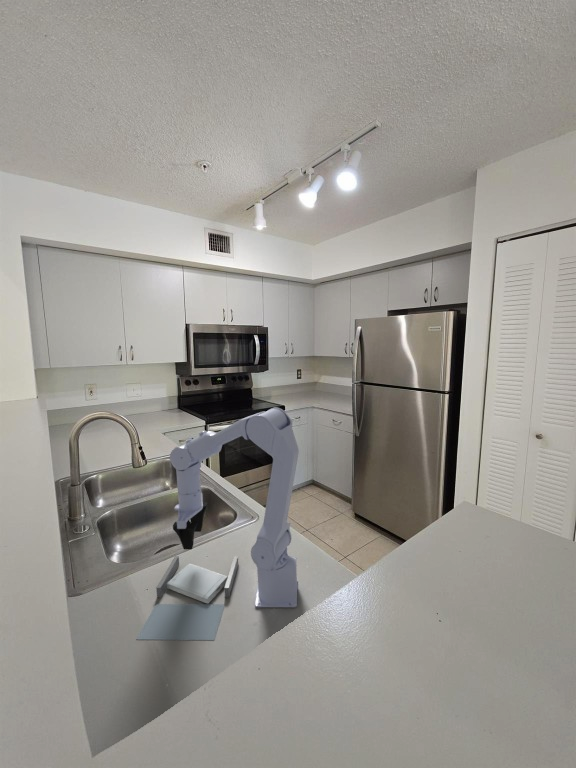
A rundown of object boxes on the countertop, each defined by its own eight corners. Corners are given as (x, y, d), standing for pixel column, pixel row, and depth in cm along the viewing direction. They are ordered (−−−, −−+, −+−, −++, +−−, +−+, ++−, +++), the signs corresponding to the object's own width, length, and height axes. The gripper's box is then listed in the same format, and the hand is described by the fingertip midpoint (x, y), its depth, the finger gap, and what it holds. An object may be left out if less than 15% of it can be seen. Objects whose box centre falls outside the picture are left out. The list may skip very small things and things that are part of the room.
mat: (224, 605, 74) (224, 604, 74) (214, 641, 65) (214, 640, 65) (155, 605, 74) (155, 604, 74) (136, 640, 66) (136, 639, 66)
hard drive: (166, 582, 79) (207, 598, 74) (189, 562, 86) (228, 575, 81) (167, 589, 79) (207, 604, 74) (190, 568, 86) (228, 581, 81)
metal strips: (238, 564, 87) (238, 556, 87) (229, 597, 76) (228, 587, 76) (175, 564, 88) (175, 556, 88) (157, 597, 76) (156, 587, 76)
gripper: (183, 478, 90) (187, 524, 92) (162, 503, 76) (166, 557, 77) (208, 477, 90) (211, 523, 91) (192, 503, 75) (196, 557, 77)
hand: (192, 539), depth 84 cm, fingers open, 7 cm apart
